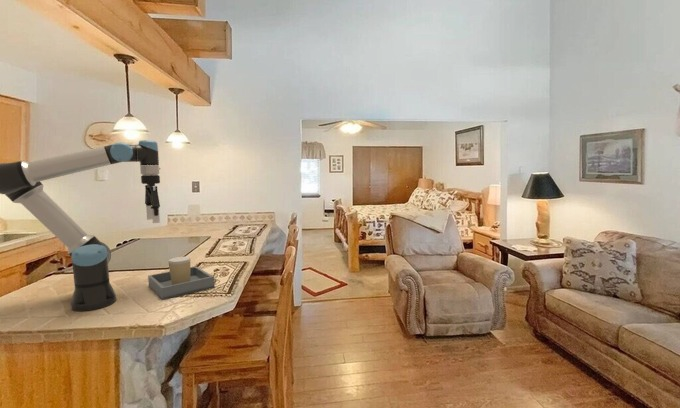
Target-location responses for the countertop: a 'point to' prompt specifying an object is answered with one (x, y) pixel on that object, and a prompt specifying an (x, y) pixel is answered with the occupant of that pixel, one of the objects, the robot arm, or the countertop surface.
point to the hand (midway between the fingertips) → (153, 221)
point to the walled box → (167, 290)
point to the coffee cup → (179, 269)
